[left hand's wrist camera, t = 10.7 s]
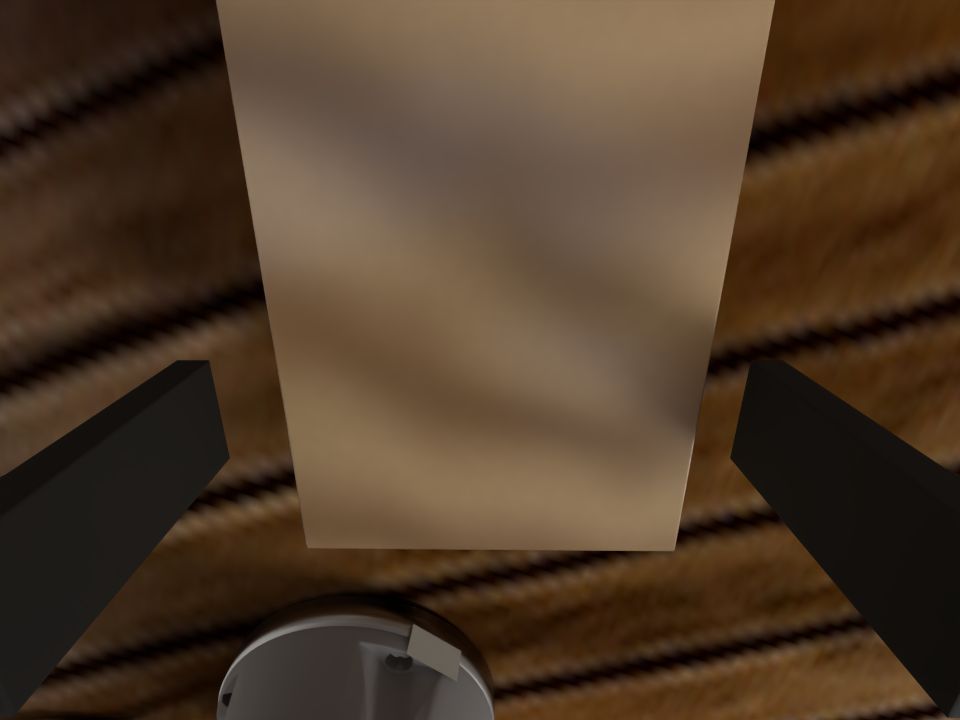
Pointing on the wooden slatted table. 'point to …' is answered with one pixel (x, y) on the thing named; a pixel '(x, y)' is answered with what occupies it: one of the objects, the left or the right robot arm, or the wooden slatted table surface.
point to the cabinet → (493, 255)
